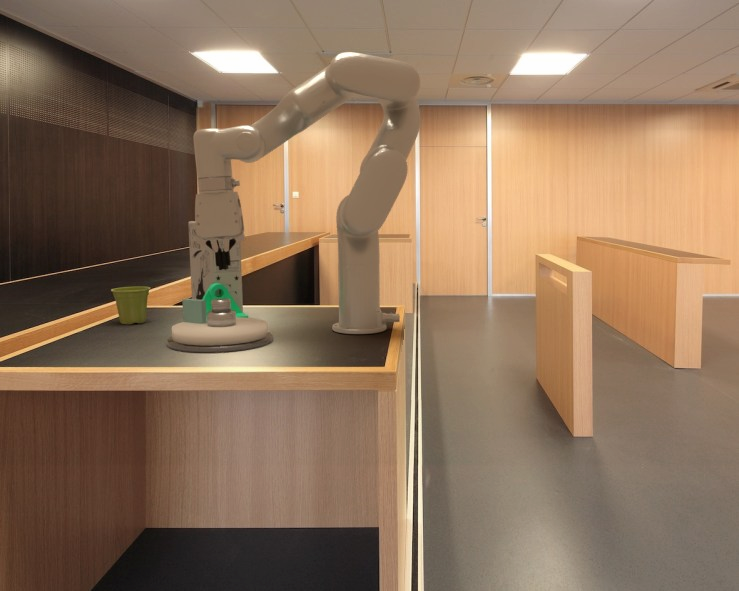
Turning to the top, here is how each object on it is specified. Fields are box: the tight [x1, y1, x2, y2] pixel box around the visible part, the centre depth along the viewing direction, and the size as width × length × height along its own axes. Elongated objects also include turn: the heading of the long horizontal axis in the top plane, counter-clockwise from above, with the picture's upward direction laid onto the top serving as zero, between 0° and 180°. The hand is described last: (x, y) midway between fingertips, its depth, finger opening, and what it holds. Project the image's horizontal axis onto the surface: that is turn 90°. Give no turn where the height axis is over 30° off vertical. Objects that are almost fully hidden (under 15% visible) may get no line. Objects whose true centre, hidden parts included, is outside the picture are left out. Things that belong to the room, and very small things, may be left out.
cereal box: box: [188, 220, 244, 313], centre depth 176 cm, size 22×8×25 cm, turn 29°
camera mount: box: [202, 283, 249, 318], centre depth 162 cm, size 12×8×10 cm, turn 116°
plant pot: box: [110, 286, 151, 325], centre depth 167 cm, size 9×9×9 cm
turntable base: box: [166, 331, 274, 354], centre depth 143 cm, size 22×22×1 cm
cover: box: [207, 299, 236, 327], centre depth 142 cm, size 6×6×5 cm
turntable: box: [171, 298, 269, 346], centre depth 142 cm, size 20×20×7 cm
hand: (223, 269), depth 149 cm, fingers closed
